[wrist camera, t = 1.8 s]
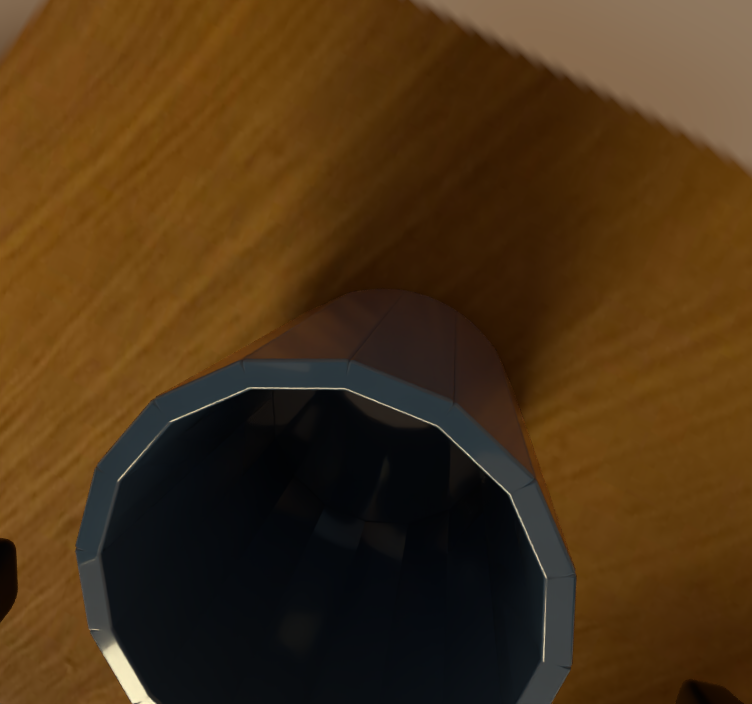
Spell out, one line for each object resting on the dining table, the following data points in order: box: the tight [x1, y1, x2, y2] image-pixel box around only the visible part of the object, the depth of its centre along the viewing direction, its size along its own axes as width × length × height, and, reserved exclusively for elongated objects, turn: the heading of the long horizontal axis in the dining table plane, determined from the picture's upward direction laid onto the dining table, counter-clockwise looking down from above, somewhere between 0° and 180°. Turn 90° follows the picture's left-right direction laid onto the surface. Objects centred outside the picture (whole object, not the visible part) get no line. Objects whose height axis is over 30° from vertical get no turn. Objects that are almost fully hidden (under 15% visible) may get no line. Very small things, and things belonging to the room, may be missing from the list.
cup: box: [75, 288, 577, 704], centre depth 11 cm, size 7×7×8 cm
